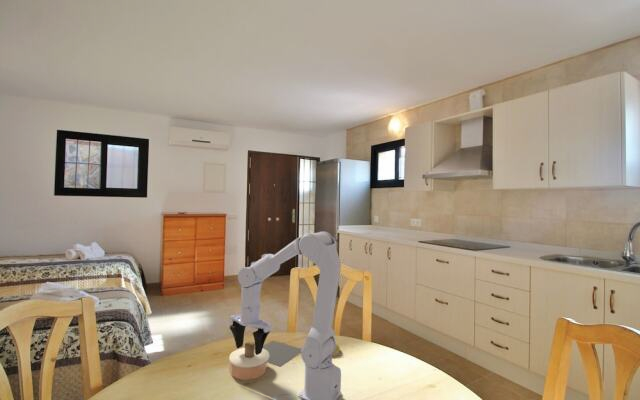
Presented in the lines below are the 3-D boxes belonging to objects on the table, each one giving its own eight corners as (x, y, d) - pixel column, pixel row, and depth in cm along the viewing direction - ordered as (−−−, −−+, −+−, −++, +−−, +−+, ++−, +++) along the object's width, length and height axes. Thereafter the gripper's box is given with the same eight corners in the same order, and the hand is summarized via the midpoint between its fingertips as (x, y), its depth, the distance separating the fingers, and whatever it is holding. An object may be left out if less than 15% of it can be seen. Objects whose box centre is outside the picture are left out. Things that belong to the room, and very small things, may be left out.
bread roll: (327, 360, 108) (328, 348, 108) (310, 351, 115) (310, 339, 115) (345, 353, 114) (345, 342, 114) (327, 344, 121) (328, 334, 121)
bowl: (273, 368, 102) (273, 355, 102) (249, 384, 92) (249, 370, 92) (247, 359, 107) (247, 347, 107) (222, 373, 98) (222, 360, 98)
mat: (304, 351, 114) (304, 349, 114) (280, 367, 102) (280, 366, 102) (272, 341, 121) (272, 340, 121) (246, 356, 109) (246, 354, 109)
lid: (277, 354, 102) (277, 341, 102) (251, 371, 92) (252, 357, 92) (247, 345, 108) (248, 333, 108) (220, 360, 98) (221, 346, 98)
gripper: (277, 306, 100) (275, 351, 100) (242, 298, 107) (240, 339, 107) (262, 313, 94) (260, 360, 93) (225, 303, 101) (224, 347, 101)
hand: (248, 350), depth 100 cm, fingers open, 7 cm apart
